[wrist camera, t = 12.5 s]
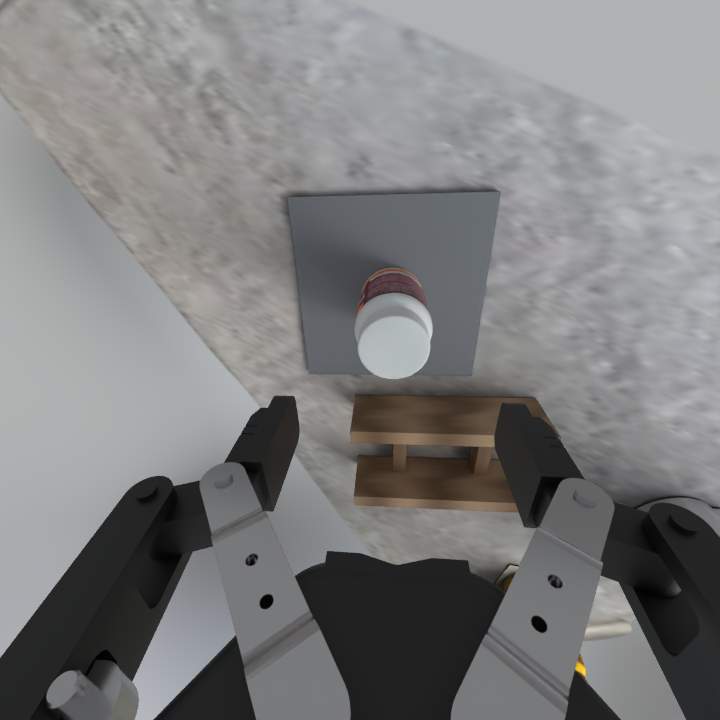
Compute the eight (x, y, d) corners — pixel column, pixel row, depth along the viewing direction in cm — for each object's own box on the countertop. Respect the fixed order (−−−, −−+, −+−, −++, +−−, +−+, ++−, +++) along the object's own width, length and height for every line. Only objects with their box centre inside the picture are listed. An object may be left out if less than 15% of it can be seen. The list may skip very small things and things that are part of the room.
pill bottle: (352, 276, 25) (338, 321, 18) (416, 258, 24) (428, 298, 17) (370, 332, 27) (364, 392, 20) (428, 318, 26) (444, 376, 19)
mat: (498, 191, 22) (500, 191, 22) (470, 372, 29) (471, 375, 28) (289, 196, 23) (287, 197, 23) (310, 370, 30) (308, 373, 30)
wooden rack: (535, 398, 30) (560, 437, 25) (515, 469, 34) (534, 513, 30) (355, 394, 31) (350, 431, 27) (358, 463, 35) (354, 505, 31)
